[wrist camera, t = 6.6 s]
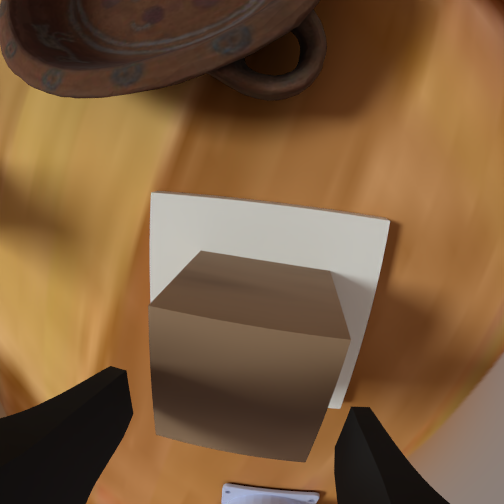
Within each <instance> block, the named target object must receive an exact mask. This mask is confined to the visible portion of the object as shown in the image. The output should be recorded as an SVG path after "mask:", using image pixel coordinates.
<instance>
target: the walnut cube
mask: <svg viewBox="0 0 504 504" xmlns="http://www.w3.org/2000/svg"><path fill="white" fill-rule="evenodd" d="M148 310H149V348H150V368H151V384H152V398H153V410H154V420H155V430H156V435H160V436H163V437H167V438H170V439H174V440H178V441H182V442H185V443H190V444H194V445H198V446H202V447H207V448H211V449H216V450H221V451H226V452H232V453H237V454H243V455H249V456H255V457H262V458H270V459H277V460H286V461H296V462H306V460H307V457H308V455H309V453H310V450H311V448H312V446H313V443H314V441H315V439H316V436H317V434H318V431H319V429H320V426H321V424H322V421H323V419H324V416H325V414H326V411H327V408H328V406H329V403H330V400H331V398H332V395H333V392H334V390H335V387H336V384H337V381H338V378H339V375H340V372H341V370H342V367H343V364H344V361H345V358H346V354H347V351H348V348H349V345H350V342H351V338H350V334H349V331H348V327H347V324H346V321H345V317H344V314H343V311H342V307H341V304H340V301H339V298H338V294H337V291H336V288H335V285H334V282H333V278H332V275H331V272H330V271H328V270H322V269H315V268H309V267H302V266H296V265H289V264H283V263H277V262H270V261H264V260H258V259H251V258H245V257H239V256H233V255H226V254H220V253H214V252H208V251H200V252H199V253H198V254H197V255H196V256H195V257H194V258H193V259H192V260H191V261H190V262H189V263H188V264H187V265H186V266H185V267H184V268H183V270H182V271H181V272H180V273H179V274H178V275H177V276H176V277H175V278H174V279H173V280H172V281H171V282H170V283H169V284H168V285H167V286H166V287H165V288H164V289H163V291H162V292H161V293H160V294H159V295H158V296H157V297H156V298H155V299H154V300H153V301H152V302H151V303H150V304H149V305H148Z"/></svg>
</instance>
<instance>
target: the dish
mask: <svg viewBox="0 0 504 504" xmlns="http://www.w3.org/2000/svg"><path fill="white" fill-rule="evenodd" d="M319 1H320V0H1V4H0V45H1V51H2V55H3V57H4V59H5V61H6V63H7V65H8V67H9V68H10V69H11V70H12V71H13V73H14V74H16V75H17V76H19V77H20V78H22V79H23V80H24V81H25V82H26V83H27V84H28V85H30V86H32V87H34V88H36V89H39V90H41V91H44V92H46V93H49V94H53V95H57V96H60V97H72V98H103V97H111V96H118V95H125V94H131V93H137V92H142V91H148V90H154V89H159V88H163V87H167V86H171V85H175V84H179V83H182V82H185V81H187V80H190V79H192V78H195V77H198V76H200V75H203V74H205V73H207V74H209V75H211V76H213V77H215V78H216V79H218V80H219V81H221V82H222V83H224V84H226V85H227V86H229V87H231V88H233V89H234V90H236V91H238V92H240V93H242V94H244V95H247V96H250V97H253V98H257V99H263V100H281V99H286V98H289V97H292V96H295V95H297V94H299V93H301V92H302V91H303V90H305V89H306V88H308V87H309V86H310V85H311V84H312V83H313V82H314V80H315V79H316V78H317V76H318V75H319V73H320V72H321V70H322V67H323V62H324V59H325V55H326V50H327V44H326V36H325V32H324V29H323V26H322V23H321V21H320V19H319V18H318V16H317V14H316V13H315V11H314V7H315V6H316V5H317V4H318V3H319ZM290 31H291V32H292V33H293V34H294V35H295V36H296V38H297V39H298V41H299V44H300V57H299V62H298V64H297V66H296V68H295V69H294V70H292V71H291V72H289V73H286V74H284V75H276V76H273V75H265V74H261V73H258V72H255V71H253V70H252V69H250V68H249V67H248V66H247V65H246V63H245V59H244V57H246V56H249V55H251V54H253V53H255V52H256V51H258V50H260V49H261V48H263V47H265V46H266V45H268V44H270V43H271V42H273V41H275V40H277V39H278V38H280V37H282V36H284V35H285V34H287V33H288V32H290Z"/></svg>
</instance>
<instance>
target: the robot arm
mask: <svg viewBox="0 0 504 504" xmlns="http://www.w3.org/2000/svg"><path fill="white" fill-rule="evenodd" d="M132 416H133V409H132V403H131V397H130V391H129V385H128V378H127V372H126V370H122V369H119V368H115V367H112V366H110V367H108V368H106V369H104V370H102V371H101V372H99V373H97V374H95V375H94V376H92V377H90V378H88V379H87V380H85V381H83V382H82V383H80V384H78V385H76V386H74V387H73V388H71V389H69V390H67V391H65V392H64V393H62V394H60V395H58V396H56V397H54V398H52V399H49V400H47V401H45V402H43V403H41V404H39V405H37V406H35V407H32V408H30V409H27V410H25V411H22V412H19V413H16V414H13V415H10V416H7V417H4V418H0V504H86V502H87V500H88V497H89V495H90V493H91V491H92V489H93V487H94V485H95V483H96V481H97V480H98V478H99V476H100V475H101V473H102V471H103V470H104V468H105V467H106V465H107V463H108V462H109V460H110V458H111V457H112V455H113V454H114V452H115V450H116V449H117V447H118V445H119V444H120V442H121V440H122V438H123V437H124V434H125V432H126V430H127V428H128V425H129V423H130V420H131V418H132ZM334 474H335V484H336V493H337V502H338V504H450V503H449V502H447V501H446V500H445V499H444V498H443V497H442V496H441V495H439V494H438V493H437V492H436V491H435V490H434V489H433V488H432V487H431V486H430V485H429V484H428V483H427V482H426V481H425V480H424V479H423V478H422V477H421V475H420V474H419V473H418V472H417V471H416V470H415V469H414V467H413V466H412V465H411V464H410V462H409V461H408V460H407V459H406V457H405V456H404V455H403V454H402V452H401V451H400V450H399V448H398V447H397V446H396V444H395V443H394V441H393V440H392V439H391V437H390V436H389V434H388V433H387V432H386V430H385V429H384V427H383V426H382V424H381V423H380V421H379V420H378V419H377V417H376V416H375V414H374V413H373V411H372V410H371V409H370V407H351V409H350V411H349V414H348V416H347V419H346V422H345V424H344V426H343V429H342V431H341V434H340V436H339V438H338V441H337V443H336V445H335V462H334ZM318 499H319V493H317V492H299V491H285V490H274V489H265V488H256V487H249V486H242V485H235V484H228V483H227V484H224V485H223V489H222V503H221V504H316V503H317V501H318Z"/></svg>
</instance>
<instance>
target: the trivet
mask: <svg viewBox="0 0 504 504" xmlns="http://www.w3.org/2000/svg"><path fill="white" fill-rule="evenodd" d="M389 225H390V220H388V219H387V218H384V217H378V216H372V215H365V214H359V213H352V212H345V211H338V210H331V209H324V208H317V207H309V206H302V205H294V204H286V203H278V202H269V201H261V200H252V199H243V198H233V197H223V196H213V195H203V194H191V193H180V192H167V191H155V192H151V210H150V299H151V302H152V301H153V300H154V299H155V298H156V297H157V296H158V295H159V294H160V293H161V292H162V291H163V289H164V288H165V287H166V286H167V285H168V284H169V283H170V282H171V281H172V280H173V279H174V278H175V277H176V276H177V275H178V274H179V273H180V272H181V271H182V270H183V268H184V267H185V266H186V265H187V264H188V263H189V262H190V261H191V260H192V259H193V258H194V257H195V256H196V255H197V254H198V253H199V252H200V251H208V252H214V253H220V254H226V255H233V256H239V257H245V258H251V259H258V260H264V261H270V262H277V263H283V264H289V265H296V266H302V267H309V268H315V269H322V270H328V271H330V272H331V275H332V278H333V282H334V285H335V288H336V291H337V294H338V298H339V301H340V304H341V307H342V311H343V314H344V317H345V321H346V324H347V327H348V331H349V334H350V338H351V342H350V345H349V348H348V351H347V354H346V358H345V361H344V364H343V367H342V370H341V372H340V375H339V378H338V381H337V384H336V387H335V390H334V392H333V395H332V398H331V400H330V403H329V406H328V408H337V409H340V408H341V405H342V402H343V399H344V396H345V394H346V391H347V388H348V385H349V382H350V379H351V376H352V373H353V370H354V367H355V363H356V360H357V357H358V354H359V350H360V347H361V344H362V340H363V337H364V333H365V330H366V326H367V323H368V319H369V315H370V311H371V308H372V304H373V300H374V296H375V292H376V287H377V283H378V279H379V274H380V270H381V265H382V261H383V256H384V251H385V246H386V241H387V236H388V231H389Z"/></svg>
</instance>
